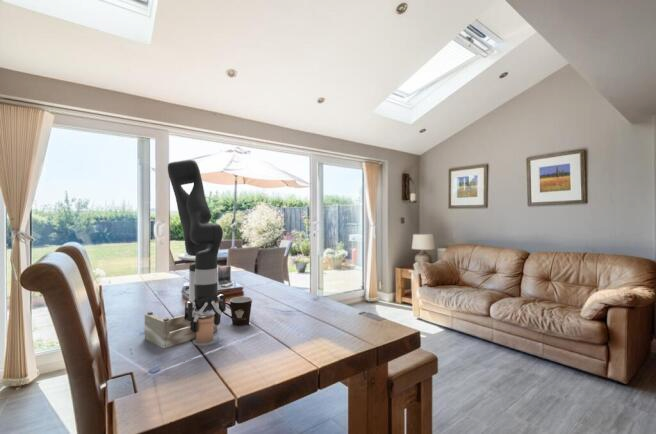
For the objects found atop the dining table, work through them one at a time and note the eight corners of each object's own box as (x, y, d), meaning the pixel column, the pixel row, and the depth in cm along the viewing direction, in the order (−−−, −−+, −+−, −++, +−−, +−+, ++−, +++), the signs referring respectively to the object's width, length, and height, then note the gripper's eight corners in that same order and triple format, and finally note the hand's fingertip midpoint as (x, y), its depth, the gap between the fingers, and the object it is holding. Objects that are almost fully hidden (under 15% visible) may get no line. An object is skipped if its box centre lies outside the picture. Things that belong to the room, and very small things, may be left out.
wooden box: (196, 324, 125) (196, 300, 125) (217, 331, 116) (217, 306, 116) (143, 339, 109) (144, 312, 109) (164, 350, 100) (164, 320, 100)
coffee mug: (256, 322, 127) (256, 297, 127) (243, 329, 119) (244, 303, 119) (232, 318, 131) (232, 295, 131) (218, 325, 123) (218, 300, 123)
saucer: (209, 335, 113) (209, 333, 113) (223, 341, 108) (223, 338, 108) (187, 343, 106) (187, 340, 106) (201, 349, 101) (201, 346, 101)
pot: (207, 335, 111) (207, 312, 111) (217, 339, 108) (218, 315, 107) (191, 340, 106) (191, 316, 106) (201, 345, 103) (201, 320, 102)
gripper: (217, 276, 115) (217, 320, 115) (180, 283, 103) (180, 332, 104) (230, 279, 111) (230, 324, 111) (193, 286, 99) (192, 337, 99)
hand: (205, 328), depth 107 cm, fingers open, 8 cm apart
